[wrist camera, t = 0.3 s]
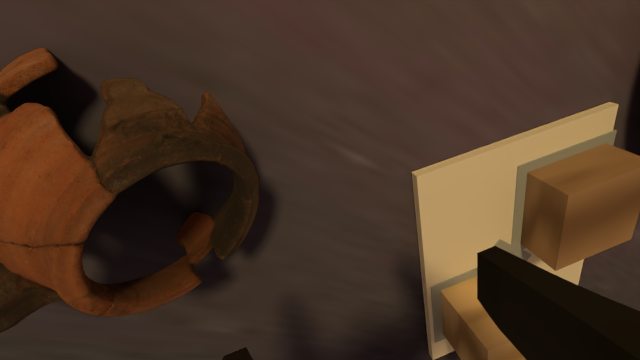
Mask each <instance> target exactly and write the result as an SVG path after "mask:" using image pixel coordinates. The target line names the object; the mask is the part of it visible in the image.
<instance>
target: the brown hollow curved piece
mask: <svg viewBox="0 0 640 360" xmlns="http://www.w3.org/2000/svg"><path fill="white" fill-rule="evenodd" d="M57 68H58V62H57V61H56V59H55V58H54V57H53V55H52V54H51V53H50V52H49V51H48V50H47V49H46V48H38V49H35V50H33V51H30V52H28V53H26V54H24V55H22V56H20V57H18V58H17V59H15V60H14V61H12V62H11V63H10V64H8V65H7V66H6V67H5V68H4V69H3V70H2V71H0V333H1V332H3V331H5V330H7V329H9V328H11V327H13V326H14V325H16V324H18V323H19V322H20V321H21V320H23V319H24V318H25V317H27V316H28V315H30V314H31V313H33V312H35V311H36V310H38V309H39V308H41V307H43V306H45V305H47V304H50V303H52V302H56V301H60V300H64V301H65V302H66V303H67V304H69V305H70V306H72V307H74V308H75V309H77V310H79V311H81V312H84V313H87V314H91V315H95V316H106V317H112V316H123V315H129V314H136V313H141V312H144V311H148V310H152V309H154V308H156V307H158V306H160V305H164V304H166V303H168V302H171V301H173V300H175V299H177V298H179V297H181V296H182V295H184V294H186V293H188V292H190V291H191V290H192V289H194V288H195V287H196V286H198V285H199V284H200V283H201V282H202V280H201V278H200V276H199V273H198V272H197V271H196V270H195V268H194V265H195V264H196V263H197V262H199V261H200V260H201V259H203V258H204V257H205V256H206V255H207V254H208V253H209V252H210V250H211V249H212V248H214V251H215V253H216V255H217V257H218V258H219V259H225V258H226V257H228V256H230V255H231V254H233V253H234V252H235V251H236V250H237V249H238V248H239V246H240V245H241V243H242V242H243V240H244V239H245V237H246V236H247V234H248V231H249V229H250V228H251V226H252V224H253V222H254V219H255V216H256V214H257V210H258V205H259V192H258V191H259V188H260V187H259V177H258V175H257V172H256V169H255V167H254V165H253V163H252V161H251V160H250V158H249V157H248V156H247V155H245V146H244V144H243V141H242V139H241V137H240V136H239V134H238V132H237V131H236V130H235V128H234V127H233V125H232V124H231V122H230V121H229V119H228V118H227V116H226V115H225V113H224V112H223V110H222V108H221V106H220V105H219V104H218V103H217V102H216V100H215V99H214V98H213V97H212V96H211V95H210V93H208V92H204V93H203V94H202V96H201V101H202V104H201V108H200V110H199V111H198V113H197V116H196V117H195V119H194V121H193V123H190V121H189V120H188V118H187V116H186V115H185V113H184V111H183V110H182V109H181V108H180V107H179V106H177V105H176V104H175V103H174V102H173V101H172V100H171V99H169V98H167V97H165V96H163V95H160V94H157V93H155V92H153V91H151V90H150V89H149V88H148V87H147V86H146V85H145V84H144V83H143V82H141V81H139V80H137V79H133V78H128V79H125V78H123V79H108V80H105V81H103V82H102V83H101V85H100V89H101V92H102V95H103V97H104V100H105V102H106V103H107V105H108V106H107V107H106V109H105V110H104V113H103V116H102V120H101V129H100V133H99V136H98V140H97V142H96V145H95V148H94V151H93V154H92V156H91V157H89V156H87V155H86V154H85V153H84V152H83V151H82V150H81V149H80V148H79V147H78V146H77V145H76V144H75V143H74V142H73V140H72V139H71V138H70V137H69V136H68V134H67V133H66V132H65V130H64V129H63V127H62V125H61V123H60V121H59V119H58V117H57V115H56V114H55V112H54V111H53V110H52V109H51V108H49V107H47V106H43V105H41V104H38V103H24V104H22V105H21V106H19V107H18V108H16V109H15V110H14V111H12V110H11V109H9V108H8V107H7V101H8V99H9V98H10V97H11V96H12V95H13V94H15V93H16V92H18V91H19V90H21V89H22V88H23V87H25V86H27V85H28V84H30V83H31V82H33V81H35V80H37V79H39V78H41V77H42V76H44V75H47V74H49V73H51V72H53V71H55V70H56V69H57ZM193 161H213V162H215V163H218V164H221V165H223V166H225V167H226V168H227V169H229V171H230V172H231V174H232V176H233V181H234V185H233V189H232V192H231V194H230V195H229V197H228V199H227V200H226V202H225V203H224V204H223V205H222V206H221V207H220V209H219V210H218V211H217V212H216V213H215V214H214V216H213V217H212V216H210V215H208V214H202V213H199V212H194V213H193V214H192V215H190V216H189V218H188V219H187V220H186V222H185V223H184V224H183V226H182V227H181V229H180V230H179V232H178V234H177V236H176V239H177V241H178V243H179V244H180V245H181V246H183V247H185V249H186V252H187V254H186V255H185V256H183V257H182V258H180V259H179V260H178V261H176V262H174V263H173V264H171V265H169V266H167V267H165V268H164V269H162V270H160V271H158V272H156V273H154V274H150V275H148V276H146V277H143V278H139V279H135V280H131V281H127V282H123V283H117V284H99V283H97V282H94V281H92V280H91V279H89V278H88V277H87V276H86V275H85V272H84V270H83V265H82V255H83V250H84V246H85V241H86V239H87V238H88V235H89V233H90V231H91V229H92V227H93V226H94V224H95V223H96V221H97V220H98V219H99V217H100V216H101V215H102V214H103V212H104V211H105V210H106V209H107V207H108V206H109V205H110V204H111V203H112V202H113V201H114V200H115V198H116V196H117V195H118V193H120V192H122V191H124V190H126V189H127V188H129V187H130V186H132V185H133V184H135V183H136V182H138V181H139V180H141V179H143V178H145V177H146V176H148V175H150V174H152V173H154V172H156V171H158V170H161V169H164V168H167V167H170V166H173V165H178V164H182V163H185V162H193Z"/></svg>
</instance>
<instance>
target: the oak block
mask: <svg viewBox="0 0 640 360" xmlns="http://www.w3.org/2000/svg"><path fill="white" fill-rule="evenodd" d="M440 292H441V309H442V326H443V335H444V336H445V338H446V339H447V340H448V342H449V343H450V345H451V346H452V347H453V349H454V350H455V352H456V353H457V355H458V356H459V357H460V359H461V360H526V359H525V357H524V356H523V355H522V354H521V353H520V352H519V351H518V350H517V349H516V348H515V346H514V345H513V344H512V343H511V342H510V341H509V340H508V339H507V338H506V336H505V335H504V334H503V333H502V332H501V331H500V330H499V328H498V327H497V326H496V324H495V323H494V322H493V320H492V319H491V318H490V316H489V315H488V313H487V312H486V311H485V309H484V308H483V306H482V305H481V303H480V302H479V301H478V299H477V276H475V277H473V278H470V279H468V280H465V281H463V282H460V283H458V284H456V285H453V286H451V287H448V288H446V289H443V290H441V291H440Z"/></svg>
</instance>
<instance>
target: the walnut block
mask: <svg viewBox="0 0 640 360" xmlns="http://www.w3.org/2000/svg"><path fill="white" fill-rule="evenodd" d="M639 212H640V156H638V155H636V154H633V153H631V152H628V151H625V150H623V149H620V148H617V147H615V146H612V145H609V144H607V143H605V144H602V145H599V146H597V147H594V148H591V149H589V150H586V151H583V152H581V153H578V154H575V155H573V156H570V157H567V158H565V159H562V160H559V161H557V162H554V163H551V164H549V165H546V166H543V167H541V168H538V169H535V170H533V171H530V172H527V181H526V191H525V201H524V211H523V222H522V232H521V242H520V243H521V244H522V245H523V246H524V247H526V248H527V249H528V250H529V251H531V252H532V253H533V254H535V255H536V256H537V257H538V258H540V259H541V260H542V261H543V262H545V263H546V264H547V265H548V266H550V267H551V268H552V269H553V270H555V271H557V270H559V269H561V268H564V267H566V266H569V265H571V264H573V263H576V262H578V261H580V260H583V259H585V258H587V257H590V256H592V255H594V254H597V253H599V252H602V251H604V250H606V249H609V248H611V247H613V246H616V245H618V244H620V243H623V242H625V241H628V240H630V239H631V238H632V235H633V232H634V228H635V225H636V222H637V218H638V215H639Z"/></svg>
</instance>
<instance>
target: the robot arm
mask: <svg viewBox="0 0 640 360" xmlns="http://www.w3.org/2000/svg"><path fill="white" fill-rule="evenodd" d="M477 299H478V301H479V302H480V303H481V305H482V306H483V308H484V309H485V311H486V312H487V313H488V315H489V316H490V318H491V319H492V320H493V322H494V323H495V324H496V326H497V327H498V328H499V330H500V331H501V332H502V333H503V334H504V335H505V336H506V338H507V339H508V340H509V341H510V342H511V343H512V344H513V345H514V346H515V348H516V349H517V350H518V351H519V352H520V353H521V354H522V355H523V356H524V357H525V359H526V360H640V311H638V310H635V309H633V308H630V307H628V306H625V305H623V304H620V303H618V302H615V301H613V300H611V299H608V298H606V297H603V296H601V295H599V294H596V293H594V292H592V291H589V290H587V289H585V288H583V287H580V286H578V285H576V284H574V283H572V282H570V281H567V280H565V279H563V278H561V277H559V276H557V275H555V274H552V273H550V272H548V271H546V270H544V269H542V268H540V267H538V266H536V265H534V264H532V263H530V262H528V261H526V260H523V259H521V258H519V257H517V256H515V255H513V254H511V253H509V252H507V251H505V250H503V249H501V248H499V247H497V246H493V247H491V248H488V249H486V250H483V251H481V252H479V253H477ZM222 360H253V359H252V357H251V355H250V354H249V352H248V350H247V348H246V347H245V348H243V349H240V350H238V351H235V352H233V353H231V354H228V355H226V356H224V357H223V359H222Z"/></svg>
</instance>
